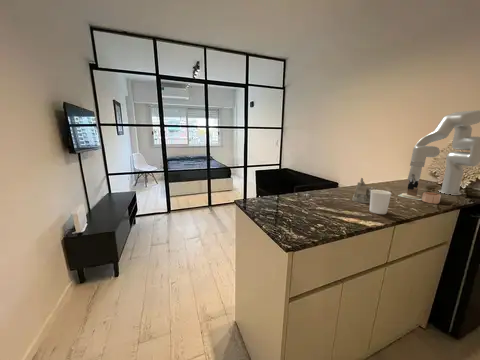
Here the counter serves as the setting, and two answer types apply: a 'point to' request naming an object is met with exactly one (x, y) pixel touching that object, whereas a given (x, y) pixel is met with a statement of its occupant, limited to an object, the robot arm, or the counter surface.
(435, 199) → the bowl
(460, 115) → the robot arm
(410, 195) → the lid
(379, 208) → the candle holder
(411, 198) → the mat
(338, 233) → the counter surface
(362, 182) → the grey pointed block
